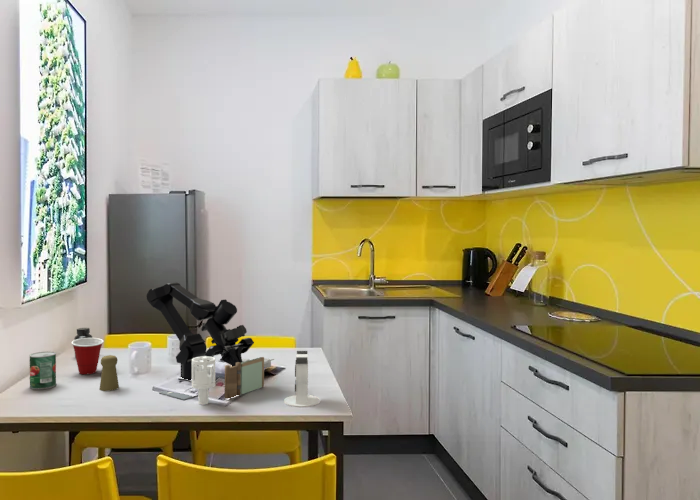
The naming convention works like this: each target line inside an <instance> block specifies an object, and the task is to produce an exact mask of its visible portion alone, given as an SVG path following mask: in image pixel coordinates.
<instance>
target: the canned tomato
mask: <svg viewBox="0 0 700 500" xmlns="http://www.w3.org/2000/svg"><path fill="white" fill-rule="evenodd" d="M56 359H57V353H56V352H55V351H39V352H33V353H31V354H29V389H31V390H47V389H51V388H54V387H55V386H57V360H56Z"/></svg>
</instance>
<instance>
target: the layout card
mask: <svg viewBox="0 0 700 500" xmlns="http://www.w3.org/2000/svg"><path fill="white" fill-rule="evenodd" d="M158 394H159V395H162V396H166V397H171V398H174V399H177V400H181V401H186V400H189V399H193V398H192V396H189V395H185V394H180V393H174V392H167V391H166V390H163V391H160V392H159V393H158Z"/></svg>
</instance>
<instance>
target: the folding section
mask: <svg viewBox="0 0 700 500" xmlns="http://www.w3.org/2000/svg"><path fill="white" fill-rule="evenodd" d="M264 359H265V357H264V356H260V357H257V358H253V359H249V361H245V362H242V363H241V395H244V394H247V393H249V392H253V391H256V390H258V389H261V388H264V387H265V370H264Z"/></svg>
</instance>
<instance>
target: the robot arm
mask: <svg viewBox="0 0 700 500" xmlns="http://www.w3.org/2000/svg"><path fill="white" fill-rule="evenodd" d="M174 299H176V301H178V302H179V303H181V304H183V306H185V307H187V309H189V310H190V312H189V313H190V314H191V316H192V317H194V319H196V320H197V321H204V320H206V322H202V326H201V330H200V331H201V332H204V331H207V332H208V334H209V336H210V337H211V344H215V345H211V346H209V347H208V348H207V344H206V341H205V339H203V337H202V335H201V333H193V332H192V331H191V330H190V328H189V326H188V325H187V324H186V322H185V321H184V318H182V316H181V314H180V313H179V311H178V310H177V308H176V307H175V305H174ZM146 300H147V302H148V303H149V305H150V306H151V307H153V308H154V309H156V310H157V311H159V312H160V313H161V314H162V315H163V317H164V319H165V321H166V322H167V323H168V325H169V327H170V328H171V330H172V331H173V333H174V335H175V336H176V337H177V339H178V340H179V348H178V349H179V352H178V354H177V355H176V356H175V361H176V363H177V364H180V377H182V378H184V379H188V380H191V379H192V359H193V358H196V357H202V356H209V357H214V356H221V358H220V359H219V361H220V362H224V363H226V364H227V365H230V366H231V365H232V366H236V363H237V362H240V363H242V359H243V357H242V354H246V353H247V352H248V350H250V348H251V347H252V346H253V345H254V343H255V341H254V340H253V338H252V337H245V336H246V335H245V334H247V332H248V331H247V328H246V327H245V325H244V324H241V325H238V326H236V327H234V328H231V329H230V328H228V329H227V327H226V326H225V325H228V324H229V323H230V322H231V321H232V319H233V318H234V317H235V315H236V314H237V313H238V308H237V305H235V304H233V303H232V302H230V301H227V299H221V300H220V301H219V303H218V304H217V305H216V304H215V303H214V302H212V301H210V300H207V299H204V298H203V299H202V298H200V297H198V296H196V295H194V293H191V292H190V291H188V289H186V288H185V287H183V286H182V285H181V283H180V282H176V281H175V282H168V283H166V284H164V285H162V286H159V287H156V288H150V289H149V290H148V291H147V294H146ZM241 337H245V338H242V339H240V338H241ZM239 339H240V340H239ZM238 341H239V342H238ZM237 342H238V343H237ZM236 343H237V344H236ZM207 361H210V360H207ZM197 366H199V365H197ZM188 380H187V381H188Z"/></svg>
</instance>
